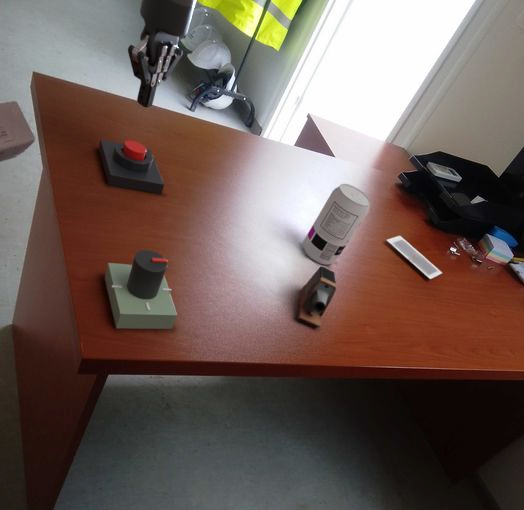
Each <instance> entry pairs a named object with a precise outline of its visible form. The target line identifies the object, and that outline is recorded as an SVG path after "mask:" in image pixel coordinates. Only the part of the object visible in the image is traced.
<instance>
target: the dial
mask: <svg viewBox="0 0 524 510" xmlns="http://www.w3.org/2000/svg"><path fill="white" fill-rule="evenodd" d="M131 265H132V268H131V271H130V275H129V279H128V282H127V288H128V290H129V292H130V293H131V294H132V295H134V296H136V297H138V298H141V299H152V298H154V297H156V296H157V294H158V291H159V288H160V285H161V283H162V280H163V277H164V276H165V274H166V271H167V268H168V259H167V258H165V257H164V256H163V255H162V254H160V253H159V252H156V251H154V250H149V249H142V250H139V251H137V252H136V253H135V255H134V257H133V261H132V264H131Z"/></svg>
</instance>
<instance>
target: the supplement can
mask: <svg viewBox="0 0 524 510" xmlns="http://www.w3.org/2000/svg"><path fill="white" fill-rule="evenodd" d="M370 206H371V200H370V198H369V196H368V195H367V194H366V193H365V192H363V191H362V190H361V189H359V188H357V187H356V186H354V185H351V184H348V183H340V184H339V186H337V187H335V188H334V189H333V190H332V191H331V192H330V195H329V197H328V198H327V200H326V202H325V203H324V205H323V207H322V209H321V210H320V212H319V214H318V216H316V219H315V220H314V222H313V224H312V225H311V228H310V229H309V231H308V232H307V234H306V236H305V238H304V240H303V241H302V247H303V251H304V253H305V254H306V255H307V256H308V257H309V258H310V259H311V260H313V261H314V262H316V263H317V264H320V265H325V266H328V265H332V264H333V265H334V264H335V263H336V262H337V260H338V258H339V257H340V255H341V254H342V253H343V251H344V249H346V247H347V245H348V244H349V242H350V240H351V239H352V237H353V236H354V234H355V233H356V231H357V230H358V228H359V227H360V226H361V224H362V223H363V221H364V220H365V218H366V217H367V215H368V214H369V212H370Z"/></svg>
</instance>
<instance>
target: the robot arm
mask: <svg viewBox="0 0 524 510" xmlns="http://www.w3.org/2000/svg"><path fill="white" fill-rule="evenodd" d="M196 3H197V0H141V4H140V7H139V8H140V9H139V14H140V16H141V18H142V19H143V21H144V26H143V29H142V30H141V33H140V36H139V40H140V41H139V43H138V44H137V45H136V46H135V45H133V44H129V46H128V47H127V53H128V57H129V60H130V64H131V68H132V73H133V76H134V77H135V78H137V79H138V80H140V84H139V89H138V93H137V98H136V101H137V103H138V104H139V105H140V106H141V107H143V108H145V109H146V108H151V107H152V106H153V103H154V100H155V96H156V91H157V88H158V87H160V85H161V83H162V82H166V81H167V80H168V78H169V77H170V75H171V73H172V71H173V70H175V68H176V66H177V64H178V63H179V61H180V60H181V58H182V56H183V54H184V53H183V52H184V51H183V50H182V49H181V48H179V47H178V43H179V38H185V37H186V36H187V34H188V32H189V29H190V25H191V21H192V19H193V18H192V17H193V14H194V10H195V7H196Z"/></svg>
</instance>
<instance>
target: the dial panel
mask: <svg viewBox="0 0 524 510" xmlns="http://www.w3.org/2000/svg"><path fill="white" fill-rule="evenodd" d="M131 268H132V264H126V263H114V262H107V266H106V271H105V275H104V282H105V286H106V291H107V296H108V299H109V304H110V308H111V312H112V316H113V320H114V326H115V329H131V330H132V329H137V330H138V329H139V330H141V329H143V330H156V329H157V330H172V329H173V328H174V324H175V322H176V319H177V317H178V313H177V310H176V307H175V303H174V301H173V298H172V295H171V292H172V291H173V290H172V288H169V285H168V282H167V280H166V276H165V275H164V277H163V280H162V283H161V285H160V288H159V291H158V294H157V296H156V297H154V298H152V299H141V298H138V297H136V296H134V295H132V294H131V293H130V292H129V290H128V288H127V282H128V279H129V275H130V271H131Z"/></svg>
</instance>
